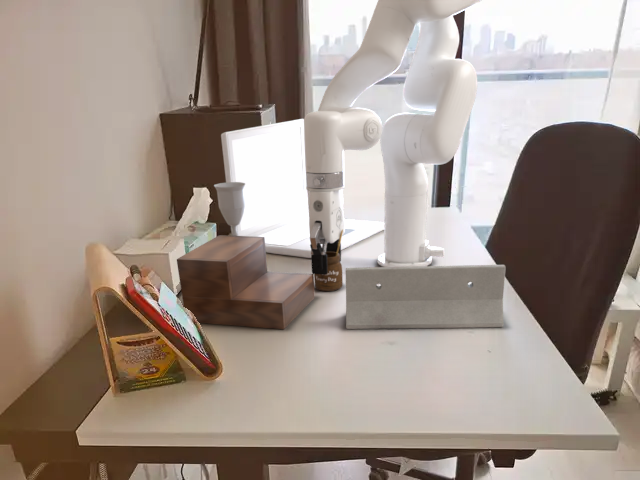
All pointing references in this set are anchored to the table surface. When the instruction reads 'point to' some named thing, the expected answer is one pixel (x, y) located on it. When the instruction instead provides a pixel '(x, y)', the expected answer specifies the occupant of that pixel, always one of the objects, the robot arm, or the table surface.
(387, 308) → the barrier
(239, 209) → the chalice
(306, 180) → the robot arm
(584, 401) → the table surface
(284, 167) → the laptop
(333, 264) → the utensil holder
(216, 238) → the step shelf
